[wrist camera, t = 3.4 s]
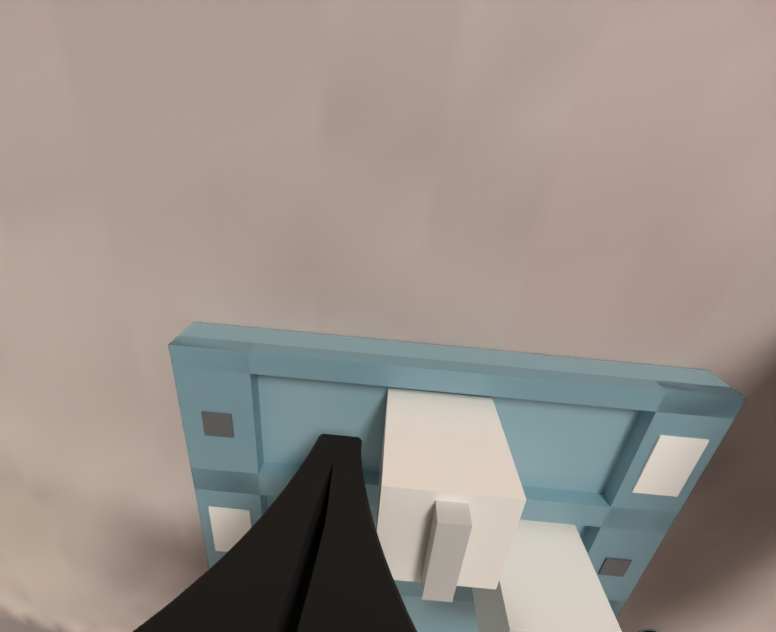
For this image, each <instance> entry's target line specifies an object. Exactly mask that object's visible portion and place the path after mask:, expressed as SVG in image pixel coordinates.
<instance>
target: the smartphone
mask: <svg viewBox="0 0 776 632" xmlns="http://www.w3.org/2000/svg"><path fill="white" fill-rule="evenodd" d="M639 632H658V631H655V630H642V631H639Z"/></svg>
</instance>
